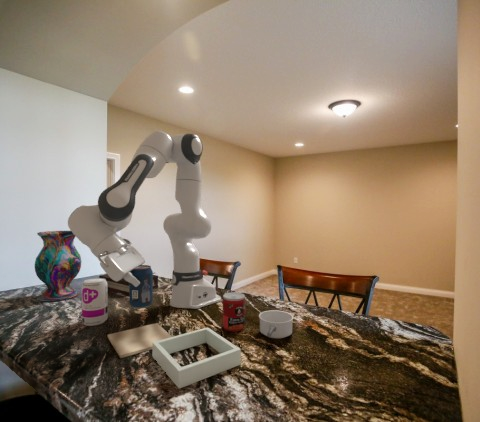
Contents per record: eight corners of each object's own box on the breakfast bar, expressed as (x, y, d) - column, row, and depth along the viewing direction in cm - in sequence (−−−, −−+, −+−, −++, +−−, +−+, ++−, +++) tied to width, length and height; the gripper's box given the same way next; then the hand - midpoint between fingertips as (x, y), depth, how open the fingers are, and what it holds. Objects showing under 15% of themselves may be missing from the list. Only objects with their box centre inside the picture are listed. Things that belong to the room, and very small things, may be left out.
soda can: (137, 300, 94) (137, 264, 94) (157, 302, 92) (157, 265, 92) (124, 308, 87) (124, 268, 87) (144, 310, 85) (144, 269, 85)
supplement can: (97, 327, 99) (97, 283, 99) (76, 325, 100) (76, 282, 100) (112, 318, 107) (112, 278, 107) (92, 316, 108) (92, 277, 108)
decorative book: (127, 267, 165) (162, 274, 148) (127, 280, 165) (162, 288, 148) (94, 273, 149) (130, 282, 132) (94, 288, 149) (130, 298, 132)
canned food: (228, 333, 94) (228, 300, 94) (219, 325, 101) (219, 293, 101) (249, 329, 98) (249, 297, 97) (238, 321, 105) (238, 291, 105)
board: (156, 325, 101) (156, 323, 101) (175, 342, 88) (175, 339, 88) (107, 337, 91) (107, 334, 91) (120, 358, 78) (120, 355, 78)
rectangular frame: (207, 340, 89) (207, 327, 89) (240, 364, 75) (240, 349, 75) (152, 356, 79) (152, 342, 79) (178, 388, 65) (179, 371, 65)
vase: (89, 294, 136) (89, 231, 136) (46, 305, 121) (46, 234, 121) (68, 288, 146) (69, 229, 146) (27, 298, 131) (27, 232, 130)
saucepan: (248, 351, 83) (249, 331, 83) (262, 324, 102) (262, 308, 102) (289, 356, 80) (289, 336, 80) (294, 328, 99) (295, 311, 99)
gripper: (103, 247, 79) (139, 282, 79) (130, 239, 99) (158, 267, 99) (87, 263, 79) (123, 299, 79) (117, 252, 99) (145, 280, 99)
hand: (143, 281), depth 89 cm, fingers closed on soda can, 7 cm apart
